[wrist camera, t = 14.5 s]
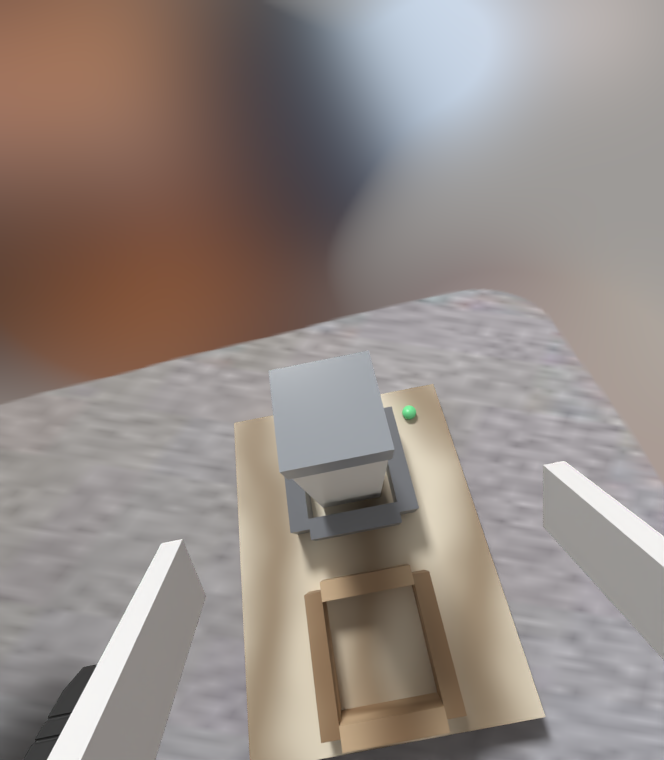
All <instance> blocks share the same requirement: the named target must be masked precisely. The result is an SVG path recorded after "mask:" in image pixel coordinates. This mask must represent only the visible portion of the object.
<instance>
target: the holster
mask: <svg viewBox="0 0 664 760" xmlns="http://www.w3.org/2000/svg"><path fill="white" fill-rule="evenodd" d="M409 585H412V588H413V593H414V597H415V601H416V605H417V609H418V614H419V618H420V622H421V626H422V631H423V635H424V639H425V643H426V647H427V652H428V656H429V660H430V664H431V668H432V673H433V677H434V681H435V685H436V690H437V692H435V693H430V694H425V695H419V696H414V697H409V698H403V699H398V700H393V701H388V702H382V703H377V704H372V705H366V706H361V707H356V708H350V709H345V710H342V709H341V702H340V695H339V688H338V680H337V673H336V666H335V659H334V652H333V644H332V637H331V630H330V623H329V616H328V609H327V601H330V600H336V599H341V598H346V597H351V596H357V595H362V594H367V593H372V592H378V591H383V590H388V589H393V588H398V587H404V586H409ZM304 600H305V608H306V617H307V626H308V634H309V643H310V652H311V660H312V669H313V678H314V686H315V695H316V704H317V712H318V721H319V730H320V738H321V743H325V742H331V741H336V740H341V745H342V753H346V752H352V751H357V750H362V749H368V748H373V747H378V746H384V745H389V744H394V743H400V742H405V741H410V740H416V739H421V738H426V737H432V736H437V735H442V734H448V733H450V729H449V725H448V721H447V720H448V719H453V718H458V717H464V716H467V714H466V710H465V706H464V702H463V698H462V695H461V691H460V687H459V683H458V679H457V675H456V672H455V668H454V664H453V660H452V656H451V652H450V649H449V645H448V641H447V637H446V633H445V629H444V626H443V622H442V618H441V614H440V610H439V607H438V603H437V599H436V595H435V591H434V587H433V584H432V580H431V576H430V572H429V571H427V570H420V571H414V572H412V571H411V567H410V565H409V564H403V565H398V566H392V567H387V568H382V569H377V570H372V571H366V572H361V573H356V574H351V575H345V576H340V577H335V578H330V579H325V580H322V581H321V582H320V590H315V591H310V592H308V593H307V594H305V595H304Z"/></svg>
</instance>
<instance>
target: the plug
mask: <svg viewBox="0 0 664 760" xmlns="http://www.w3.org/2000/svg"><path fill="white" fill-rule="evenodd" d="M269 379H270V389H271V398H272V407H273V417H274V426H275V436H276V445H277V455H278V464H279V472H280V473H281V474H282V475H283V476H284V477H285V478H286V479H288V480H290V479H293V480H294V481H295V482H296V483H297V484H298V485H299V486H300V487H301V488H303V489H304V490H305V491H306V492H307V493H308V494H309V495H310V496H311V497H312V498H313V499H314V500H315V501H316V502H317V503H318V504H320V505H321V506H322V507H323V508H327V507H332V506H337V505H342V504H347V503H352V502H357V501H362V500H367V499H372V498H377V497H380V495H381V491H382V486H383V481H384V477H385V472H386V468H387V463H388V460H390V459H392V457H393V453H394V445H393V442H392V438H391V434H390V430H389V426H388V423H387V419H386V415H385V411H384V407H383V403H382V400H381V396H380V392H379V388H378V384H377V380H376V377H375V373H374V369H373V365H372V361H371V358H370V354H369V351H364V352H359V353H354V354H349V355H344V356H339V357H334V358H329V359H324V360H319V361H314V362H309V363H304V364H299V365H294V366H289V367H284V368H279V369H274V370H269Z"/></svg>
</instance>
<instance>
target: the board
mask: <svg viewBox="0 0 664 760" xmlns="http://www.w3.org/2000/svg"><path fill="white" fill-rule="evenodd" d="M380 396H381V400H382V403H383V407H384V408H386V407H391V406H392V409H393V413H394V417H395V420H396V424H397V428H398V432H399V435H400V439H401V443H402V447H403V450H404V454H405V458H406V461H407V465H408V469H409V473H410V476H411V480H412V484H413V487H414V491H415V495H416V499H417V502H418V506H419V509H417V510H416V511H415V512H413V513H407V514H402V515H401V519H402V523H401V524H400V525H397V526H391V527H386V528H381V529H376V530H371V531H365V532H360V533H355V534H350V535H345V536H340V537H334V538H329V539H324V540H319V541H314V540H311V536H310V532H309V533H304V534H299V535H297V534H293V533H290V524H289V515H288V506H287V496H286V487H285V478H284V476H283V475H282V474H281V473H280V472H279V464H278V455H277V445H276V436H275V426H274V417H273V415H272V416H267V417H262V418H257V419H252V420H247V421H242V422H237V423H234V432H235V453H236V475H237V496H238V517H239V539H240V560H241V581H242V603H243V624H244V645H245V667H246V688H247V709H248V731H249V752H250V760H319V759H324V758H329V757H335V756H340V755H345V754H351V753H356V752H361V751H367V750H372V749H377V748H383V747H388V746H393V745H399V744H404V743H409V742H415V741H420V740H425V739H431V738H436V737H441V736H447V735H452V734H457V733H463V732H468V731H473V730H479V729H484V728H489V727H495V726H500V725H505V724H511V723H516V722H521V721H527V720H532V719H537V718H543V717H545V714H544V711H543V708H542V705H541V702H540V699H539V696H538V693H537V690H536V687H535V684H534V681H533V678H532V675H531V672H530V669H529V666H528V663H527V660H526V657H525V654H524V651H523V649H522V646H521V643H520V640H519V637H518V634H517V631H516V628H515V625H514V622H513V619H512V616H511V613H510V610H509V607H508V604H507V601H506V598H505V595H504V592H503V589H502V586H501V583H500V580H499V577H498V574H497V571H496V569H495V566H494V563H493V560H492V557H491V554H490V551H489V548H488V545H487V542H486V539H485V536H484V533H483V530H482V527H481V524H480V521H479V518H478V515H477V512H476V509H475V506H474V503H473V500H472V497H471V494H470V491H469V489H468V486H467V483H466V480H465V477H464V474H463V471H462V468H461V465H460V462H459V459H458V456H457V453H456V450H455V447H454V444H453V441H452V438H451V435H450V432H449V429H448V426H447V423H446V420H445V417H444V414H443V411H442V409H441V406H440V403H439V400H438V397H437V394H436V391H435V388H434V385H433V384H431V385H426V386H420V387H415V388H410V389H405V390H400V391H395V392H390V393H385V394H380ZM408 405H410V406H413V407H414V408H415V409H416V415H415V417H414V418H413V419H411V420H407V419H405V418H404V417H403V415H402V411H403V408H404V407H405V406H408ZM310 497H311V496H310ZM388 503H393V498H392V494H391V490H390V485H389V481H388V477H387V473H386V472H385V477H384V481H383V486H382V491H381V495H380V497H377V498H372V499H367V500H362V501H357V502H352V503H347V504H342V505H337V506H332V507H327V508H323V507H322V506H321V505H320V504H318V503H317V502H316V501H315V500H314V499H313V498H312V497H311V504H312V511H313V518H316V517H321V516H326V515H331V514H336V513H341V512H347V511H352V510H357V509H362V508H367V507H373V506H378V505H383V504H388ZM403 564H409V565H410V567H411V571H412V572H414V571H420V570H427V571H429V572H430V576H431V580H432V584H433V587H434V591H435V595H436V599H437V603H438V607H439V610H440V614H441V618H442V622H443V626H444V629H445V633H446V637H447V641H448V645H449V649H450V652H451V656H452V660H453V664H454V668H455V672H456V675H457V679H458V683H459V687H460V691H461V695H462V698H463V702H464V706H465V710H466V714H467V716H464V717H458V718H453V719H448V720H447V721H448V725H449V729H450V733H448V734H442V735H437V736H432V737H426V738H421V739H416V740H410V741H405V742H400V743H394V744H389V745H384V746H378V747H373V748H368V749H362V750H357V751H352V752H346V753H342V745H341V740H336V741H331V742H325V743H321V738H320V730H319V721H318V712H317V704H316V695H315V686H314V678H313V669H312V660H311V652H310V643H309V634H308V626H307V617H306V608H305V600H304V595H305V594H307V593H308V592H310V591H315V590H320V582H321V581H322V580H325V579H330V578H335V577H340V576H345V575H351V574H356V573H361V572H366V571H372V570H377V569H382V568H387V567H392V566H398V565H403ZM327 609H328V616H329V623H330V630H331V637H332V644H333V652H334V659H335V666H336V673H337V680H338V688H339V695H340V702H341V709H342V710H345V709H350V708H356V707H361V706H366V705H372V704H377V703H382V702H388V701H393V700H398V699H403V698H409V697H414V696H419V695H425V694H430V693H435V692H437V690H436V685H435V681H434V677H433V673H432V668H431V664H430V660H429V656H428V652H427V647H426V643H425V639H424V635H423V631H422V626H421V622H420V618H419V614H418V609H417V605H416V601H415V597H414V593H413V588H412V585H409V586H404V587H398V588H393V589H388V590H383V591H378V592H372V593H367V594H362V595H357V596H351V597H346V598H341V599H336V600H330V601H327Z"/></svg>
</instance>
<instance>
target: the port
mask: <svg viewBox="0 0 664 760" xmlns="http://www.w3.org/2000/svg"><path fill="white" fill-rule="evenodd" d="M384 411H385V415H386V419H387V423H388V426H389V430H390V434H391V438H392V442H393V445H394V453H393V457H392V459H390V460H388V463H387V468H386V473H387V477H388V481H389V485H390V490H391V494H392V498H393V503H388V504H383V505H378V506H373V507H367V508H362V509H357V510H352V511H347V512H341V513H336V514H331V515H326V516H321V517H316V518H313V511H312V504H311V497H310V495H309V494H308V493H307V492H306V491H305V490H304V489H303V488H301V487H300V486H299V485H298V484H297V483H296V482H295V481H294V480H293V479H290V480H288V479H286V478H285V477H284V478H285V487H286V496H287V506H288V515H289V524H290V533H293V534H297V535H299V534H304V533H309V532H310V536H311V540H314V541H319V540H324V539H329V538H334V537H340V536H345V535H350V534H355V533H360V532H365V531H371V530H376V529H381V528H386V527H391V526H397V525H400V524H401V523H402V519H401V515H402V514H407V513H413V512H415V511H416V510H417V509H419V506H418V502H417V499H416V495H415V491H414V487H413V484H412V480H411V476H410V473H409V469H408V465H407V461H406V458H405V454H404V450H403V447H402V443H401V439H400V435H399V432H398V428H397V424H396V420H395V417H394V413H393V409H392V406H391V407H386V408H384ZM402 415H403V417H404V418H405V419H407V420H411V419H413V418H414V417H415V415H416V409H415V408H414V407H413V406H410V405H408V406H405V407H404V408H403V411H402Z"/></svg>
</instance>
